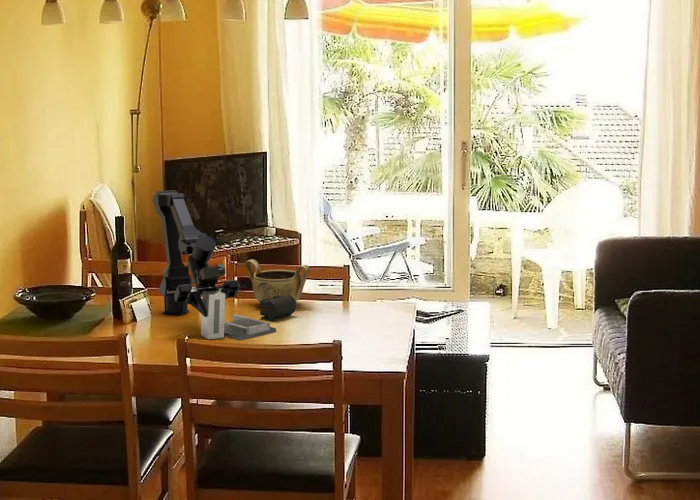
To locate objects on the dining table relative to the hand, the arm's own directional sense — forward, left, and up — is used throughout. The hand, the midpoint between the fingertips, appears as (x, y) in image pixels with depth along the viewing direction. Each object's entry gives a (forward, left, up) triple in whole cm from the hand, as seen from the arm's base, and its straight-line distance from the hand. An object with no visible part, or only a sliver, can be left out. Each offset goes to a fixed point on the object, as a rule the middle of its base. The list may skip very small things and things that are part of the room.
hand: (214, 315), depth 294 cm
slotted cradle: (+3, +10, -7) cm, 12 cm away
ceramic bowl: (-1, +43, -7) cm, 44 cm away
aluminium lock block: (-1, 0, -7) cm, 7 cm away
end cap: (+6, +29, -7) cm, 30 cm away
